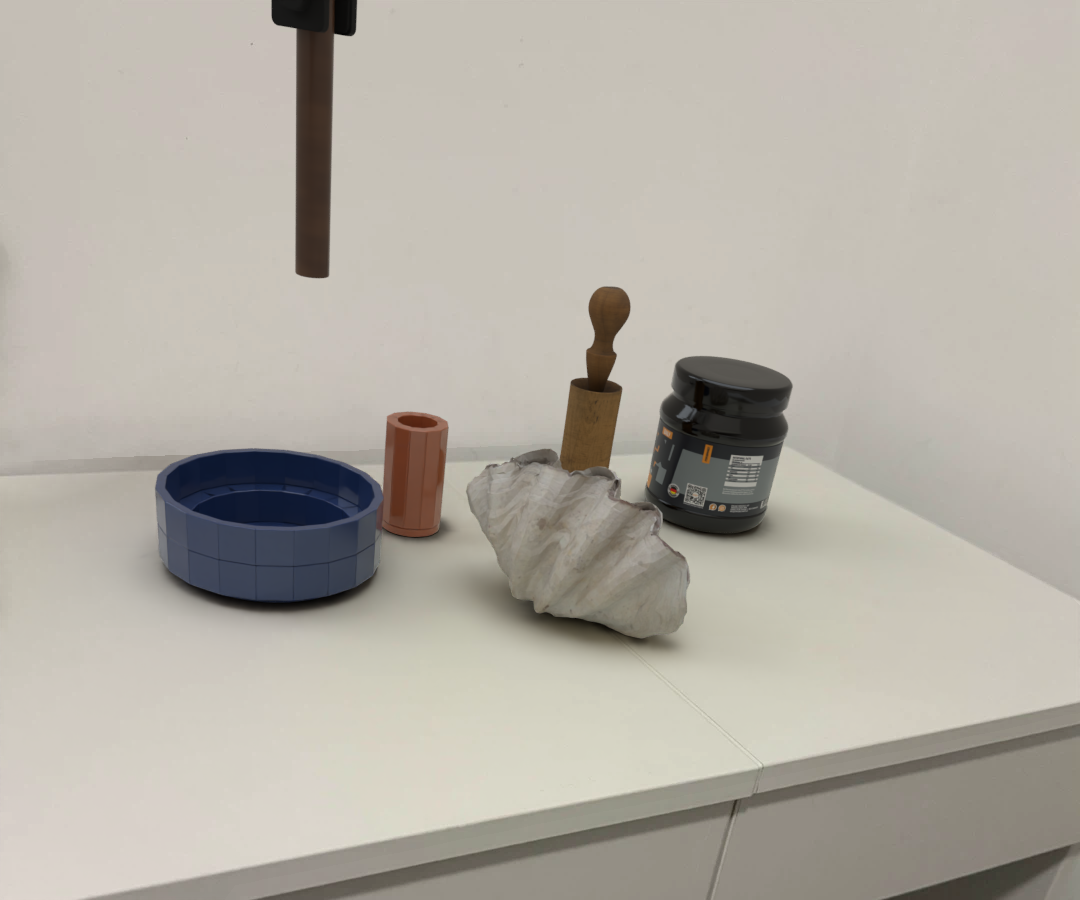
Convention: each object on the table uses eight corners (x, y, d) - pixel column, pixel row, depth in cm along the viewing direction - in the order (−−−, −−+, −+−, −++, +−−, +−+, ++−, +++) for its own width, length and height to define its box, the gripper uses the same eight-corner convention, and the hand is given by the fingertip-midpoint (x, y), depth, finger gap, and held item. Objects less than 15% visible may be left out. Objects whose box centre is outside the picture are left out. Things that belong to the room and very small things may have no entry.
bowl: (112, 570, 68) (105, 488, 65) (247, 506, 79) (246, 434, 76) (303, 634, 64) (304, 550, 61) (415, 557, 75) (421, 483, 72)
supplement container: (678, 481, 97) (706, 347, 90) (782, 518, 92) (820, 379, 86) (618, 507, 89) (645, 363, 83) (729, 549, 85) (766, 399, 78)
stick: (288, 273, 63) (289, -104, 54) (307, 269, 65) (310, -98, 55) (317, 280, 63) (323, -100, 53) (335, 276, 64) (344, -94, 55)
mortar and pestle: (524, 528, 82) (557, 285, 73) (544, 502, 88) (576, 272, 78) (607, 547, 82) (651, 303, 72) (621, 519, 87) (664, 288, 77)
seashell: (557, 556, 79) (577, 424, 74) (693, 646, 69) (727, 502, 64) (440, 576, 73) (453, 435, 68) (571, 678, 64) (597, 523, 58)
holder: (369, 526, 79) (375, 420, 75) (398, 509, 82) (405, 407, 78) (422, 542, 78) (430, 435, 74) (449, 524, 81) (458, 421, 77)
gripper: (343, -390, 55) (332, 31, 64) (132, -549, 42) (158, 8, 52) (474, -383, 53) (442, 50, 63) (296, -547, 40) (291, 30, 50)
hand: (314, 27), depth 57 cm, fingers closed on stick, 2 cm apart
